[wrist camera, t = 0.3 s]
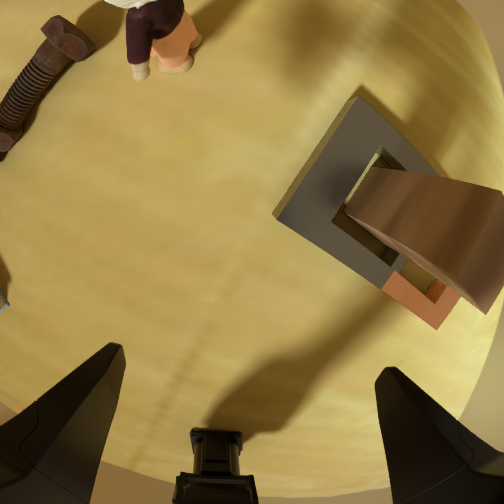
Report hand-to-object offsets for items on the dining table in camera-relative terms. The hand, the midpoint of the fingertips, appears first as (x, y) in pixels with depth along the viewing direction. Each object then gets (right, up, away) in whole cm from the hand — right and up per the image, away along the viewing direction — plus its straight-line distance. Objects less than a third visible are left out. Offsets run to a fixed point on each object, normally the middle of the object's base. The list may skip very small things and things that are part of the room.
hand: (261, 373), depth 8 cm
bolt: (-20, +17, +8) cm, 27 cm away
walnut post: (+10, +8, +13) cm, 18 cm away
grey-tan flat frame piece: (+13, +6, +14) cm, 20 cm away
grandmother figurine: (-6, +19, +8) cm, 21 cm away
